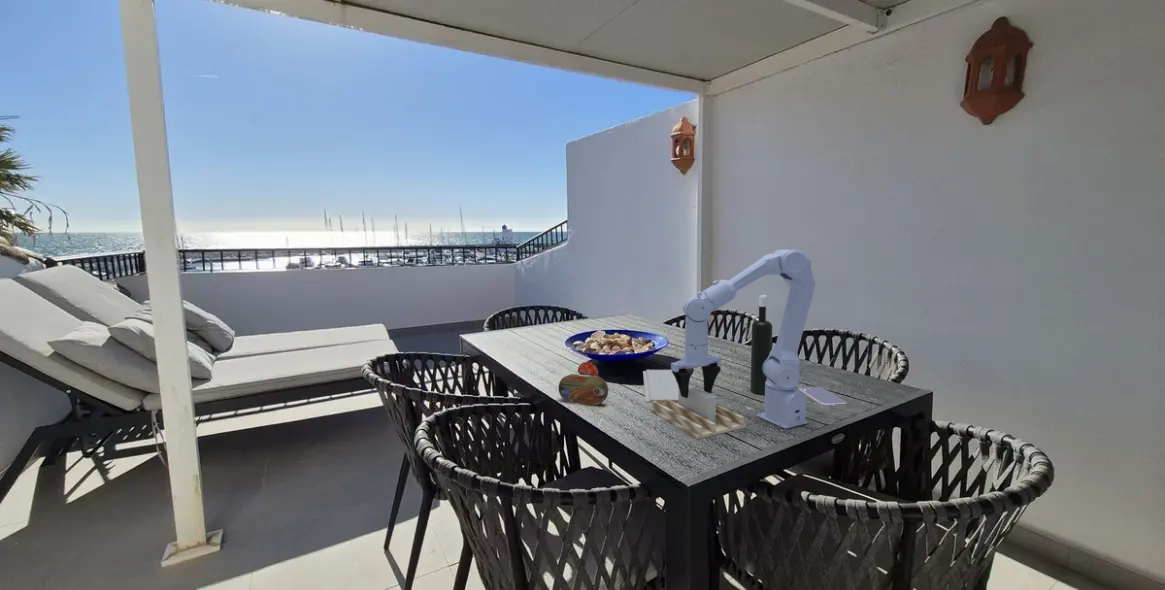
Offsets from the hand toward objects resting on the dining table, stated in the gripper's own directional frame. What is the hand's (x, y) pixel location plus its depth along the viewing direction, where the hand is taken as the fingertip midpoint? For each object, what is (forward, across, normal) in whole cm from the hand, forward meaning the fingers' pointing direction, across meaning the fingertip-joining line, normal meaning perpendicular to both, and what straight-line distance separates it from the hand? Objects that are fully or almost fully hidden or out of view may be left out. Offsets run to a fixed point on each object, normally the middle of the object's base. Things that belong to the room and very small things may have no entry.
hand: (696, 394), depth 118 cm
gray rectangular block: (+6, 0, 0) cm, 6 cm away
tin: (+7, +21, -25) cm, 33 cm away
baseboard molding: (+8, -7, -28) cm, 29 cm away
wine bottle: (+7, -31, -8) cm, 33 cm away
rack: (+7, 0, 0) cm, 7 cm away
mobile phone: (+8, -44, +3) cm, 45 cm away
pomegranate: (+7, +12, -42) cm, 44 cm away
